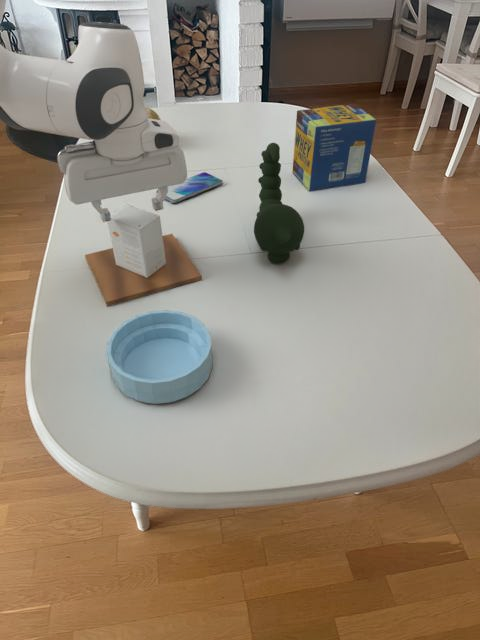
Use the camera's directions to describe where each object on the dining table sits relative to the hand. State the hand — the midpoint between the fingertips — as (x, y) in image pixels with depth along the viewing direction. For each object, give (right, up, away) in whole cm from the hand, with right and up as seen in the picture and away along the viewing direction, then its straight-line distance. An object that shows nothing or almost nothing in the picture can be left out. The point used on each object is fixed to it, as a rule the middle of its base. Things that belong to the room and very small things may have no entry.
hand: (132, 214), depth 91 cm
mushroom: (-9, +28, +50) cm, 59 cm away
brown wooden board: (0, -9, +8) cm, 12 cm away
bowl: (+7, -26, -11) cm, 29 cm away
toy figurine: (+26, -3, +15) cm, 30 cm away
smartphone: (+7, +12, +32) cm, 35 cm away
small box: (0, -8, +7) cm, 11 cm away
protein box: (+41, +16, +37) cm, 57 cm away
